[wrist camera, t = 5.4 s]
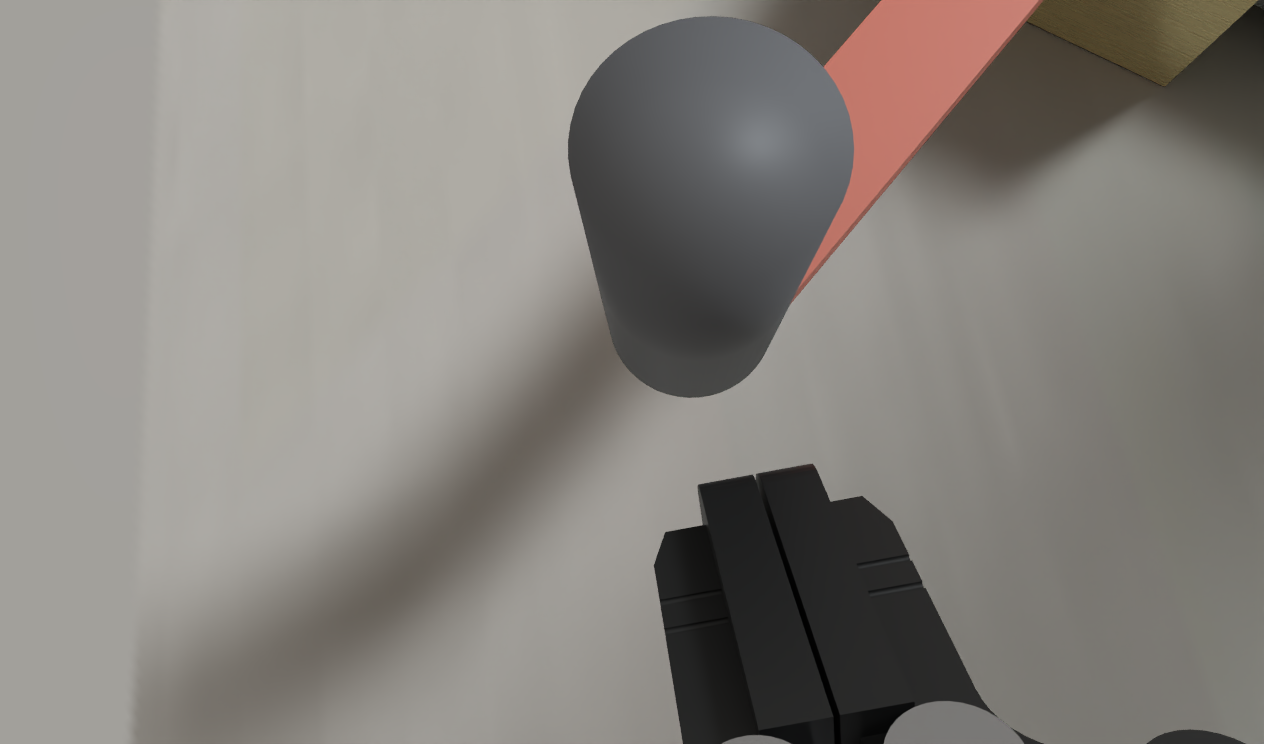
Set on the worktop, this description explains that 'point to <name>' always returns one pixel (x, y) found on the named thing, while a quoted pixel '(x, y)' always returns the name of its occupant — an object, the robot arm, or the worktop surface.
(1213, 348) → the worktop surface
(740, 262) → the lever
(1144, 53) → the valve body
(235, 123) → the worktop surface
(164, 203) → the worktop surface
